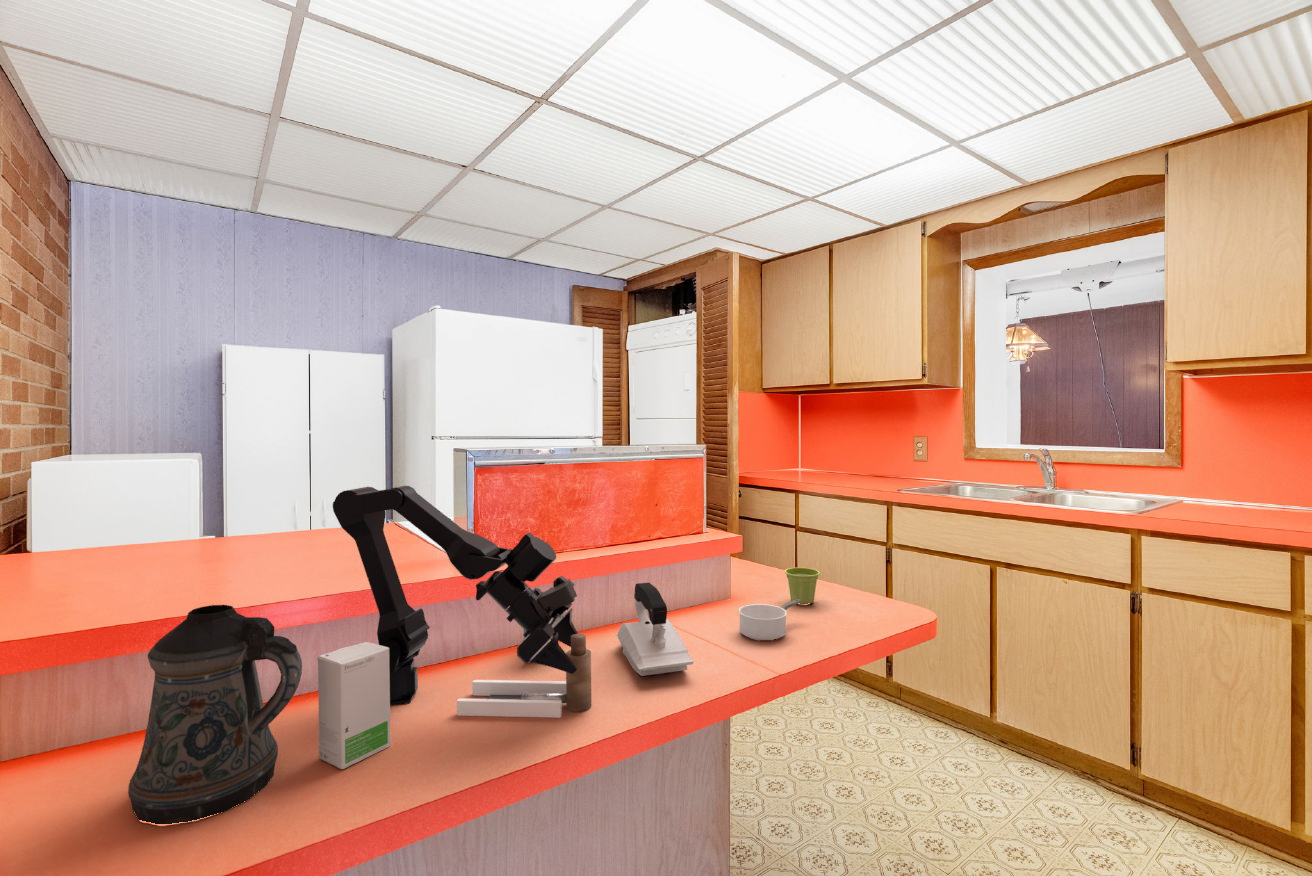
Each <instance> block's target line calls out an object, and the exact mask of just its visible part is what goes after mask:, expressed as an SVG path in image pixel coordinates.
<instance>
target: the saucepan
mask: <svg viewBox="0 0 1312 876" xmlns="http://www.w3.org/2000/svg"><path fill="white" fill-rule="evenodd" d="M800 602H801V600H799V599H796V600H794V601H791V600H790V601H789V602H786V603H783V604H781V605H780V606H777V605H772V604H764V603H753V604H746V605H743V606H740V607H739V608H738V610H737V612H738V614H739V632H740V633H741V634H742V635H743V636H745V637H747V638H748V637H749V639H751V640H754V641H760V640H771V641H774V639H776V640H778V639H780V638H782V637H784V636H785V635H786V633H787V631H786V627H787V625H786V623H787V620H786V619H787V617H786V616H788V611H787V610H788V609H789V608H790V607H794V606H795V605H797V604H798V603H800Z"/></svg>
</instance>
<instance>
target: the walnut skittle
mask: <svg viewBox="0 0 1312 876" xmlns="http://www.w3.org/2000/svg"><path fill="white" fill-rule="evenodd" d="M586 637H587V635H586V634H584V633H578V634H574V635H572V636H571V647H570V649H569V650H567V651H566V652H565V653H566V654H567V656H568V657H569V658H570V660H571V661H572V662H573V664H574V665H575V666H576V668H577V670H576V672H575V673H573V674H571V673H568V672H565V681H566V703H565V704H566V710H567V711H569V712H573V713H581V712H587V711H589V710H590V709H591V708H592V652H591V650H589V649H587V645H586V644H587V642H586V641H587V639H586Z"/></svg>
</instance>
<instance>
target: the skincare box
mask: <svg viewBox="0 0 1312 876" xmlns="http://www.w3.org/2000/svg"><path fill="white" fill-rule="evenodd" d="M316 659H317V671H318V672H317V673H318V674H317V676H318V679H317V680H318V686H317V687H318V758H319V759H320V760H322V761H324V762H326V763H328V764H329V765H331V766H334V767H335V768H338V769H340V770H344V769H347V768H348V767H350V766H352V765H355V764H357V763H359V762H360V761H361V762H362V760H365V759H367V758H369V757H371V756H373V755H375V754H377V753H379V752H381V751H384V750H385V749H387V748H389V747H390V746H391V744H392V743H391V704H390V672H389V648H388V647H385V646H381V645H379V644H378V643H377V644H376V643H373V642H370V641H364V642H360V643H357V644H354V645H350V646H345V647H341V648H338V649H337V650H334V651H330V652H327V653H326V652H325V653H323V654H321V655H318V656H317V658H316Z"/></svg>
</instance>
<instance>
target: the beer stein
mask: <svg viewBox="0 0 1312 876" xmlns="http://www.w3.org/2000/svg"><path fill="white" fill-rule="evenodd" d="M275 628H276V627H275V626H274V625H273V623H272V622H271V621H270V620H269V619H268V618H267V617H262V616H261V617H260V616H257V617H256V616H253V617H252V616H251V617H247V616H244V615H242V614H241V613H238V612H237V610H236V609H235V607H234V606H233V605H227V604H211V605H204V606H200V607H197V608H193V609H192V610H190V611H189V612H188V613H187V617H186V619H185V620H183V621H182V622H180V623H179V624H178V625H177V626H175V627H174V628H173V629H172V630H170V631H169V632H167V633H166V634H165V635H163V636H161V638H159V640H158V641H156V642H155V644H154V645H153V646H152V648H150V650H149V652H148V653H147V660H148V663H149V665H150V668H151V669H152V671H154V680H153V681H154V682H153V687H152V695H151V701H150V708H149V711H148V712H149V713H148V721H147V725H146V729H145V734H144V735H145V736H144V739H143V740H144V741H143V746H142V749H141V753H140V757H139V760H138V763H137V765H136V768H135V770H134V772H133V773H132V777H131V778H130V780H129V783H128V787H127V788H128V790H127V795H128V797H129V799H130V800H129V801H130V802H131V810H132V812H133V813H134V812H135V813H134V815H135V814H136V815H135V817H136V816H137V817H136V819H137V818H138V819H139V820H142V821H146V822H151V823H155V824H172V823H179V822H188V821H192V820H197V819H200V818H204V817H207V816H210V815H214V814H217V813H221V812H224V811H226V810H228V809H230V808H232V807H234V806H236V805H238V804H240V805H242V804H244V803H245V802H244V801H246V800H248V799H249V800H251V798H250V797H252V796H253V797H254V796H255V795H257V794H258V793H259V792H260V790H261V789H262V788H263V789H265V786H266V785H267V786H268V785H269V783H270V781H271V780H272V778H273V777H274V775H275V769H276V768H275V766H276V764H277V763H276V762H277V760H278V759H277V758H278V755H279V747H278V742H277V740H276V739H275V737H274V735H273V733H272V731H271V729H270V724H271V723H272V722H273V721H274V720H276V718H277V717H278V716H279V715H280V713H281V712H283V710H284V709H285V708H286V707H287V705H288V704H289V702H291V700H292V698H293V697H294V695H295V693H296V691H297V689H298V687H299V684H300V682H301V677H302V673H303V661H302V656H301V654H300V653H299V651H298V648H297V645H296V644H295V643H294V642H292V641H291V640H290V639H289V638H287V637H285V636H281V635H275ZM262 660H269V661H271V662H274V663H275V664H276V665H277V668H278V669H279V671H280V672H279V673H280V681H279V683H278V686H276V690H275V692H274V693H273V695H272V696H271V697H270V699H269V700H268V701H267V702H266V703H265V704H264V701H263V696H262V691H261V690H262V689H261V684H260V680H259V674H258V670H257V665H256V661H262ZM270 779H271V780H270ZM268 782H269V783H268ZM267 786H266V787H267ZM263 789H262V790H263ZM262 790H261V791H262ZM258 791H259V792H258ZM257 792H258V793H257ZM256 793H257V794H256ZM254 794H255V795H254ZM253 797H252V798H253ZM249 800H248V801H249ZM243 802H244V803H243ZM246 802H247V801H246ZM241 803H242V804H241ZM238 806H239V805H238ZM236 807H237V806H236ZM234 808H235V807H234ZM232 809H233V808H232ZM230 810H231V809H230ZM228 811H229V810H228ZM226 812H227V811H226ZM224 813H225V812H224ZM221 814H222V813H221ZM138 819H137V820H138Z"/></svg>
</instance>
